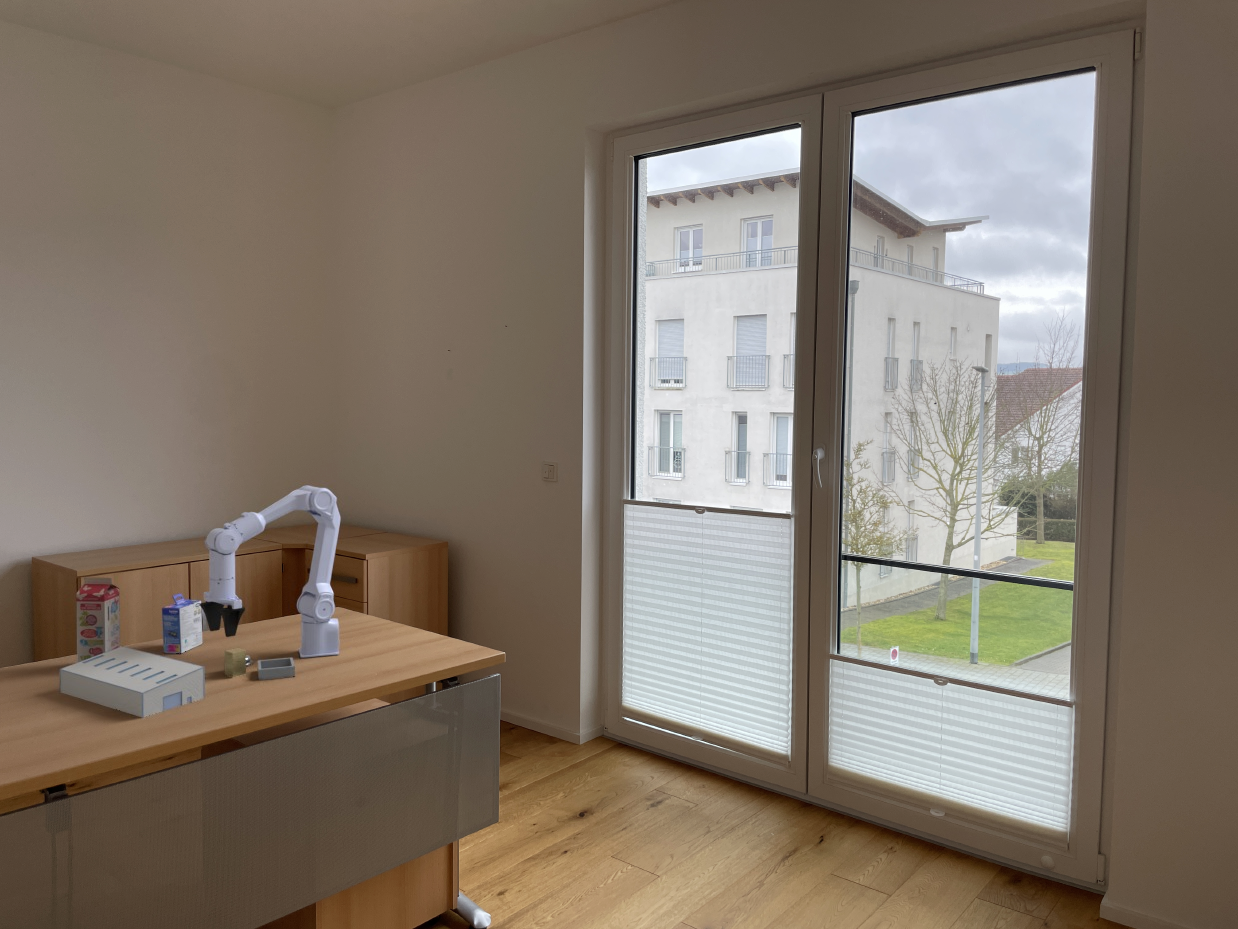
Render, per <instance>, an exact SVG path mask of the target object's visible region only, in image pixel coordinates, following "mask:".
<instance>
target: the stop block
mask: <svg viewBox="0 0 1238 929" xmlns="http://www.w3.org/2000/svg"><path fill="white" fill-rule="evenodd" d="M246 655H247V650H246V649H243V648H240V647H235V648H231V649H227V650H224V676H226V675H228V676H231V677H235V678H237V677H236V676H239V677H241V676H240V675H243V676H245V675H244V674H246V675H247V666H246ZM228 676H227V677H228ZM231 677H230V678H231Z"/></svg>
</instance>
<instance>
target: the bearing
mask: <svg viewBox="0 0 1238 929" xmlns="http://www.w3.org/2000/svg"><path fill="white" fill-rule="evenodd" d="M252 663H253V664H254V660H253V659H250V661H249V662H246V667H249V666H248V665H250V666H252V665H253V664H252ZM251 664H252V665H251Z"/></svg>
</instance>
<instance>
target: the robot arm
mask: <svg viewBox="0 0 1238 929" xmlns="http://www.w3.org/2000/svg"><path fill="white" fill-rule="evenodd" d="M337 500H338V498H337V496H336V495H335V494H334V493H333V492H332V491H331V490H330V489H328V488H327V487H317V486H313V485H303V486H301V487H300V488H297V489H295V490H293V491H291V492H290V493H289V494H287V495H286V496H284V497H282V498H281V499H279V500H277V501H276V502H274V503H273V504H271V505H269V506H267V507H266V508H264V509H263V510H260V511H259V512H253V511H250V512H247V511H244V512H242V513H241V515H240V517H238V518H237V519H235V520H232V521H231V522H226V523H224V524H223V527H222V528H221V527H220V528H219V527H218V528H213V529H212V530H210V532H208V534H207V535H206V538H205V539H204V544H205V547H206V548H207V549H208V550H209V552H208V553H209V556H208V557H209V561H208V566H209V567H208V572H209V573H208V575H209V576H208V578H209V579H208V580H209V590H208V591H204V592H203V600H204V601H205V602H201V603H200V606H201V610H202V611H203V613H204V615H205V617H206V622H207V625H208V628H209V631H210V632H216V631H219V630H220V629H221V624H222V621H223V628H224V635H225V637H226V638H230V637H235V636H236V635H237V630H238V627H239V624H240V620H241V618H242V617H243V614H244V613H245V611H246V606H243V601H242V599H240V598H239V597H238V595H237V594H236V551H237V550H238V549H239V546H240V545H241V544H243V543H245V542H247V541H248V540H250V539H252V538H254V537H256V536H257V535H259V534H261V533H262V532H264V530H265V527H266V525H267V524H269V523H271V522H274V521H275V520H277V519H279V518H281V517H283V516H285V515H287V514H288V513H291V512H293V511H305V512H307V513H308V514H310V516H312V517H313V518H314V519H315V522H317V529H316V537H315V541H314V547H313V554H312V559H311V566H310V569H309V570H310V571H309V576H308V577H309V578H308V581H307V582H306V583H305V585H304V586H303V587H302V591H301V594H300V596H299V597H298V599H297V602H296V609H297V611H298V613H300V614H301V616H300V618H301V620H300V621H301V624H300V626H301V627H300V632H301V633H300V635H301V638H300V639H301V640H300V642H301V643H300V645H301V646H300V647H299V648H298V653H299V656H300V658H302V659H304V658H315V657H326V656H334V655H335V656H338V655H339V654H340V629H339V628H340V625H339V624H340V623H339V619H338V618H335V617H334V618H332V616H333V615H334V613H335V611H336V610H335V609H336V605H335V602H334V596H335V594H334V591H333V589H332V586H331V580H332V573H333V566H334V562H335V556H336V548H337V544H338V537H339V531H340V524H341V518H342V517H341V514H340V512H339V508H338V505H337ZM225 606H227V607H225Z"/></svg>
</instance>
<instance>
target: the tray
mask: <svg viewBox="0 0 1238 929" xmlns="http://www.w3.org/2000/svg"><path fill="white" fill-rule="evenodd" d="M295 666H296V665H295V662H294V658H293V657H283V658H273V659H260V660H259V659H258V660H257V676H258V681H263V680H264V681H266V680H273V679H274V678H276V679H285V677H286V678H294V677H293V676H295V677H296V674H295V673H296V671H295V670H296V669H295V668H296V667H295Z"/></svg>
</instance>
